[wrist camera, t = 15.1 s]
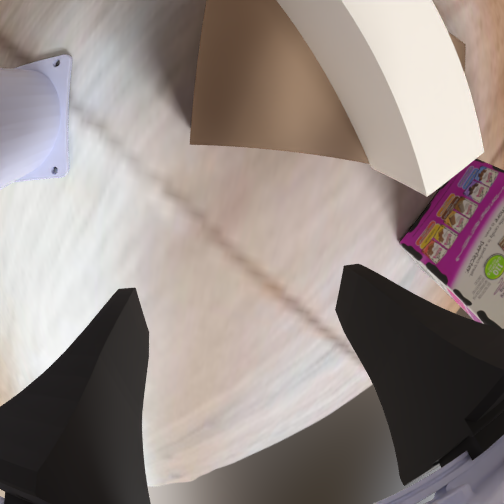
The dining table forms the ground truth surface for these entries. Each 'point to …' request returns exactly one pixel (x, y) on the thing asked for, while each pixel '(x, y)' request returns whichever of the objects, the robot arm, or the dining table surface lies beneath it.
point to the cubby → (267, 85)
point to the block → (395, 84)
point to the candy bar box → (465, 241)
